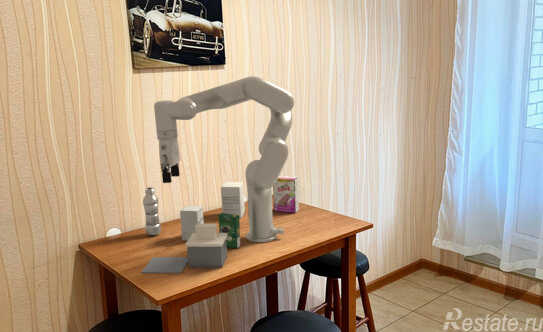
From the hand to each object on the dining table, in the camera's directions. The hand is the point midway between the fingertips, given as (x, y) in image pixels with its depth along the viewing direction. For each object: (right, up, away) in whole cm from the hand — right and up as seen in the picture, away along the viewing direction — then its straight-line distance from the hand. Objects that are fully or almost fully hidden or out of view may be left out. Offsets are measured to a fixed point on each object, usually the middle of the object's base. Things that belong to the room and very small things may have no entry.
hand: (171, 179), depth 193 cm
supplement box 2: (+20, -18, +44) cm, 52 cm away
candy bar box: (+45, -16, +48) cm, 67 cm away
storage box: (+15, -29, -9) cm, 34 cm away
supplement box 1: (+6, -25, +17) cm, 30 cm away
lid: (+15, -22, -10) cm, 28 cm away
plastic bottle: (-12, -24, +23) cm, 35 cm away
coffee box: (+22, -26, +6) cm, 35 cm away
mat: (0, -30, -10) cm, 32 cm away
